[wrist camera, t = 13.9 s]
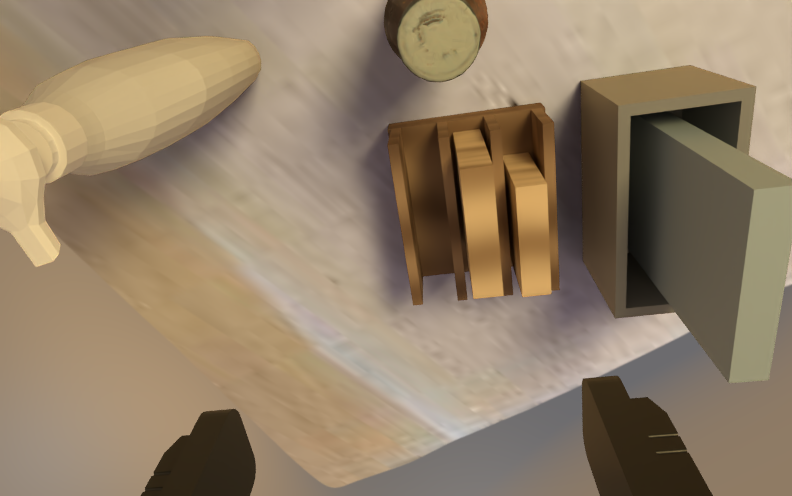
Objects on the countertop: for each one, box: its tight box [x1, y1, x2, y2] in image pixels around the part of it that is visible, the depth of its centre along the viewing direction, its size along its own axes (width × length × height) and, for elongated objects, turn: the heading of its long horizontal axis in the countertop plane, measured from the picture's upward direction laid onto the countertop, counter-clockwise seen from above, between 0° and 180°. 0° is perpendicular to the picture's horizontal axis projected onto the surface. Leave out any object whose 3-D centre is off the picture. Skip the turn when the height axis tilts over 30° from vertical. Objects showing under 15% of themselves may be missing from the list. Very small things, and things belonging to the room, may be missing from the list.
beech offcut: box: [503, 152, 551, 297], centre depth 45 cm, size 9×2×8 cm, turn 9°
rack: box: [388, 103, 560, 305], centre depth 47 cm, size 14×13×7 cm
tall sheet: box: [627, 111, 792, 383], centre depth 39 cm, size 12×2×20 cm, turn 8°
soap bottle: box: [0, 36, 261, 267], centre depth 36 cm, size 14×8×27 cm, turn 109°
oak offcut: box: [453, 129, 504, 299], centre depth 44 cm, size 10×2×10 cm, turn 9°
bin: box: [581, 65, 756, 318], centre depth 45 cm, size 17×9×10 cm, turn 9°
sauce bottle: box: [384, 0, 488, 82], centre depth 35 cm, size 7×6×20 cm
